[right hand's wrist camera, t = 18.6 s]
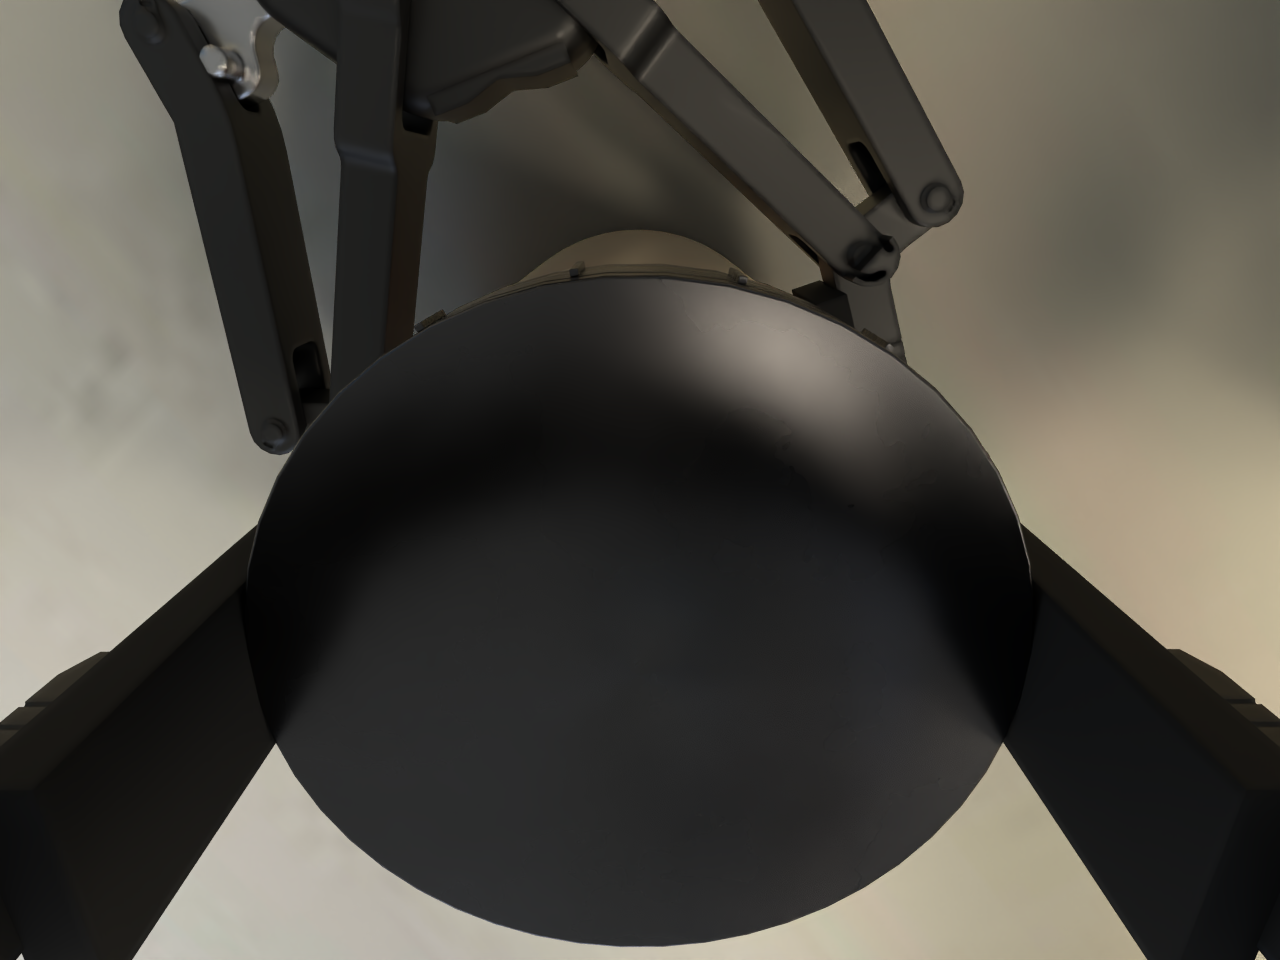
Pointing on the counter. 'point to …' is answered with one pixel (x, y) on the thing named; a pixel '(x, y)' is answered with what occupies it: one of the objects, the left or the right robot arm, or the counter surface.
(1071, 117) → the counter surface
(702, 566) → the lid
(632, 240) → the jar
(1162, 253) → the counter surface
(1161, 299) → the counter surface
